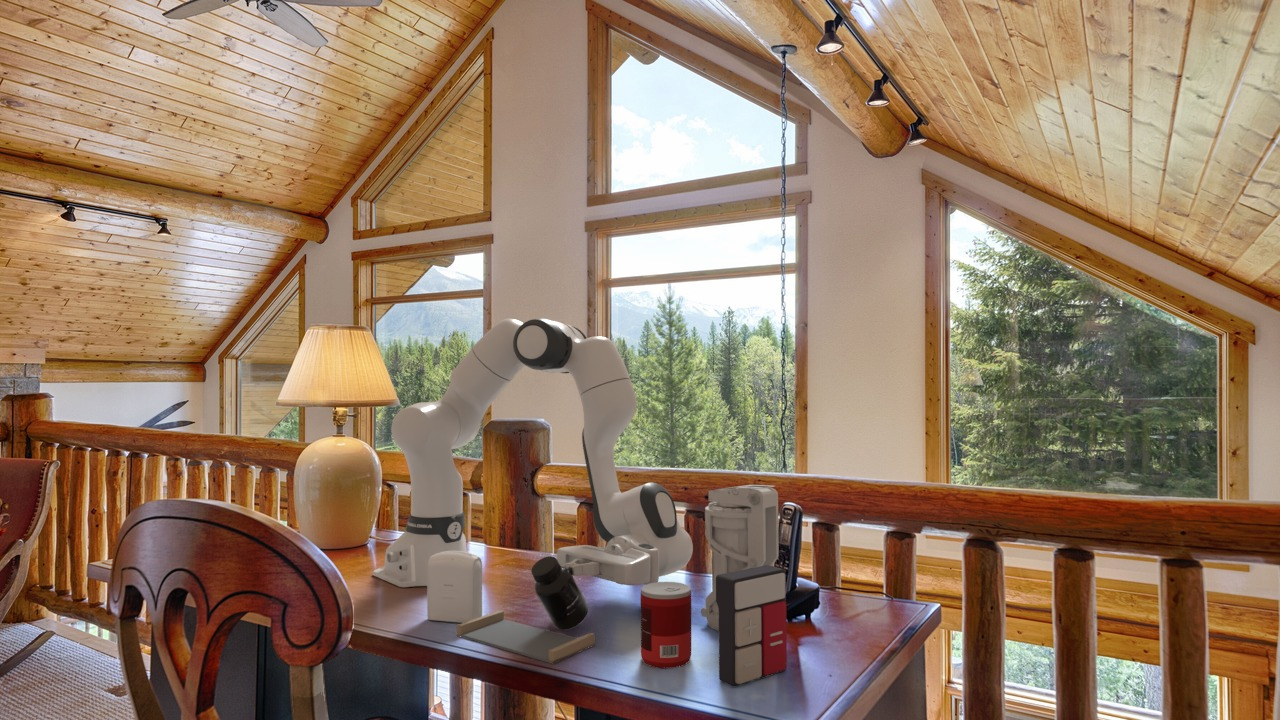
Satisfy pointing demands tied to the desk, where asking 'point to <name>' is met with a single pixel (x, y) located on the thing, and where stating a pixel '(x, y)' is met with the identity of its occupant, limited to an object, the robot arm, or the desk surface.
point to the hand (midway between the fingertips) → (569, 570)
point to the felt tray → (523, 638)
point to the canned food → (666, 624)
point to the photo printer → (454, 587)
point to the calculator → (751, 624)
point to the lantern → (739, 534)
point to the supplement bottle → (559, 593)
